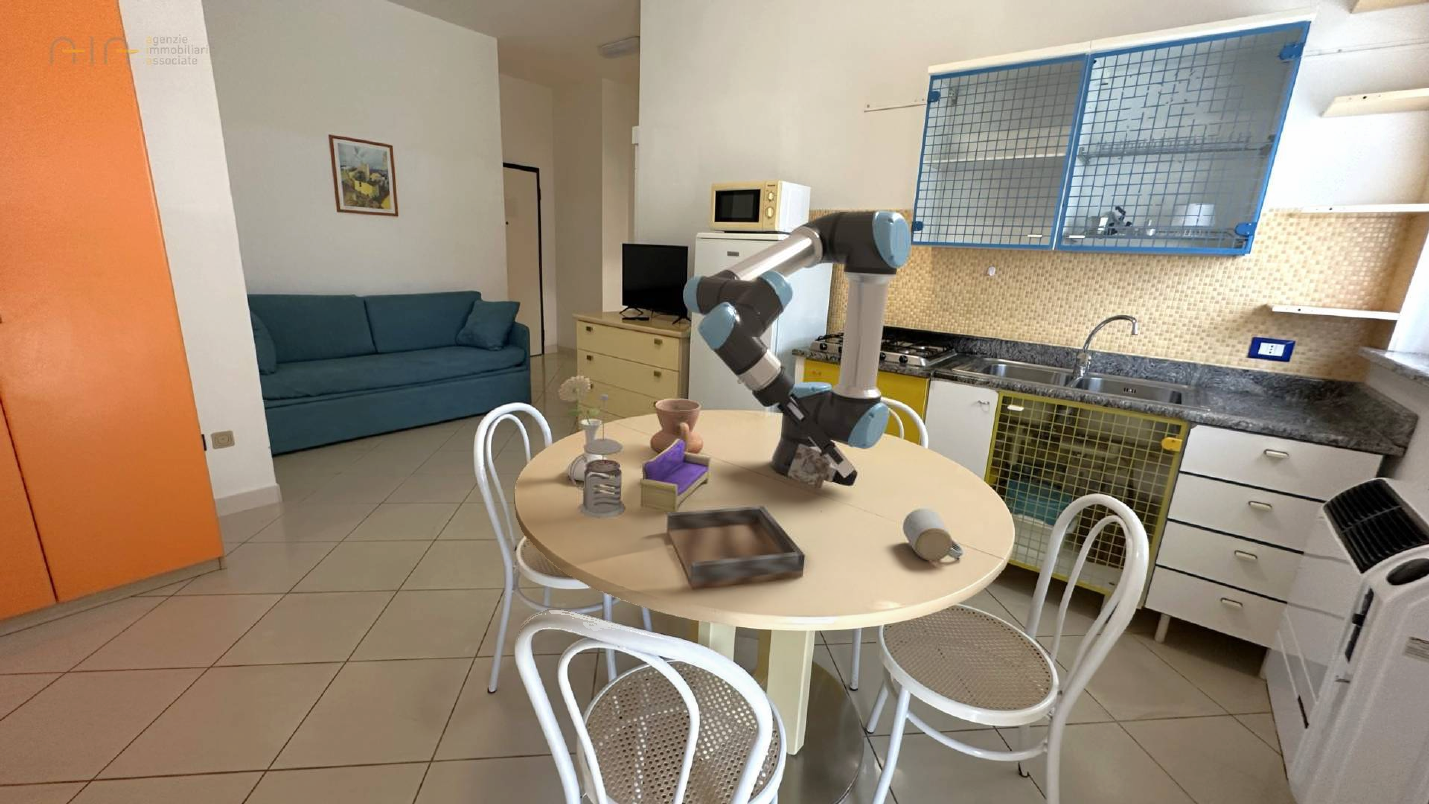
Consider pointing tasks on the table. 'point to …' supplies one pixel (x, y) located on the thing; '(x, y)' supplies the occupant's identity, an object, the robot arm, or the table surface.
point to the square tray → (732, 547)
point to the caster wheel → (816, 469)
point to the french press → (593, 499)
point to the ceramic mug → (929, 535)
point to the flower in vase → (571, 392)
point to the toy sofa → (672, 477)
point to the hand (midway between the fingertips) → (841, 463)
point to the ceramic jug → (677, 425)
